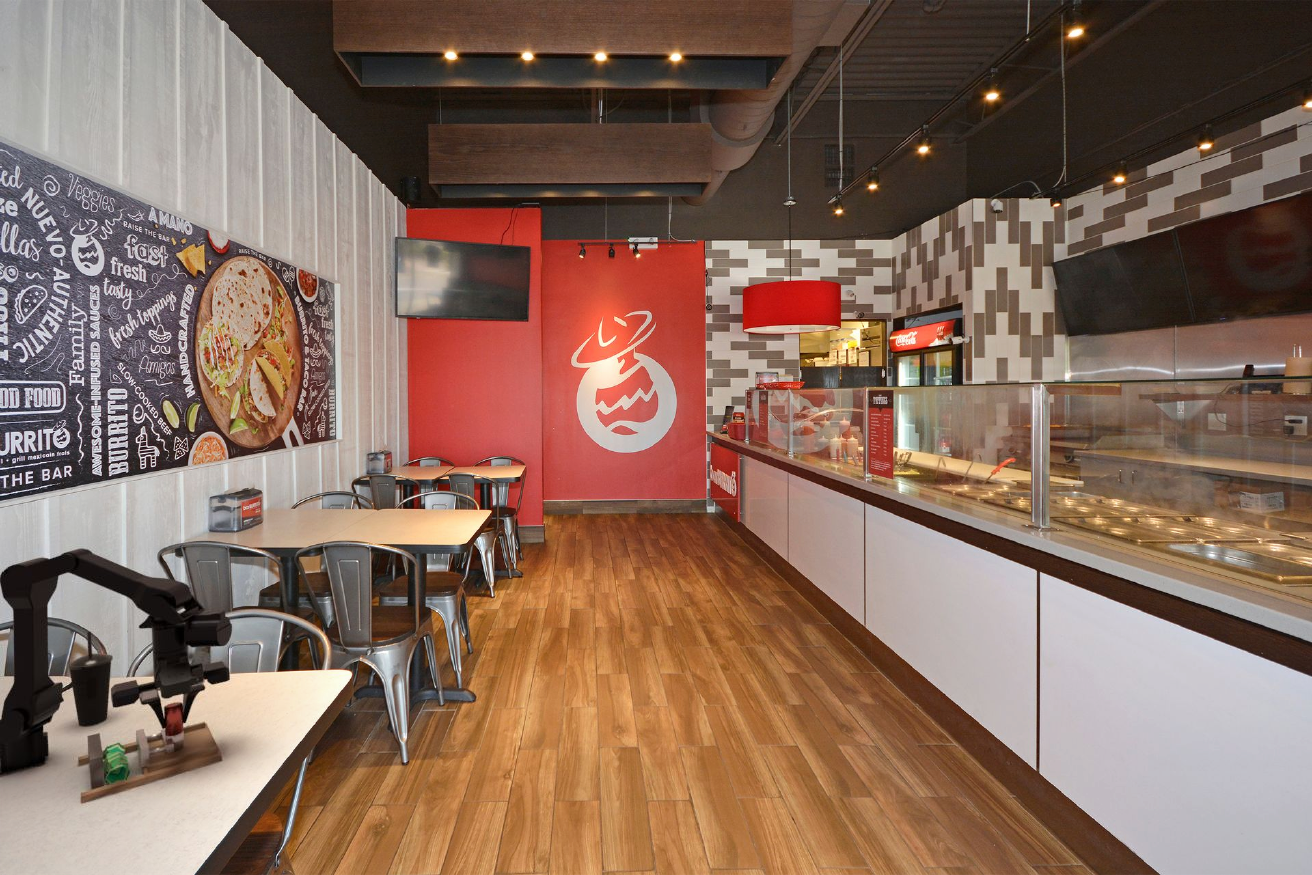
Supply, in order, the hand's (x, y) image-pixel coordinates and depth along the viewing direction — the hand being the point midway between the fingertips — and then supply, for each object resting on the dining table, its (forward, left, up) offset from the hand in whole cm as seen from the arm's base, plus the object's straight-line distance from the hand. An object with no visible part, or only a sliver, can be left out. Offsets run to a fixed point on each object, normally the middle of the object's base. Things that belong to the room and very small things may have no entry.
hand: (174, 725), depth 134 cm
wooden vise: (-4, 0, -6) cm, 7 cm away
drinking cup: (-12, +30, -6) cm, 33 cm away
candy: (-9, 0, -6) cm, 11 cm away
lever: (-2, 0, -4) cm, 5 cm away
